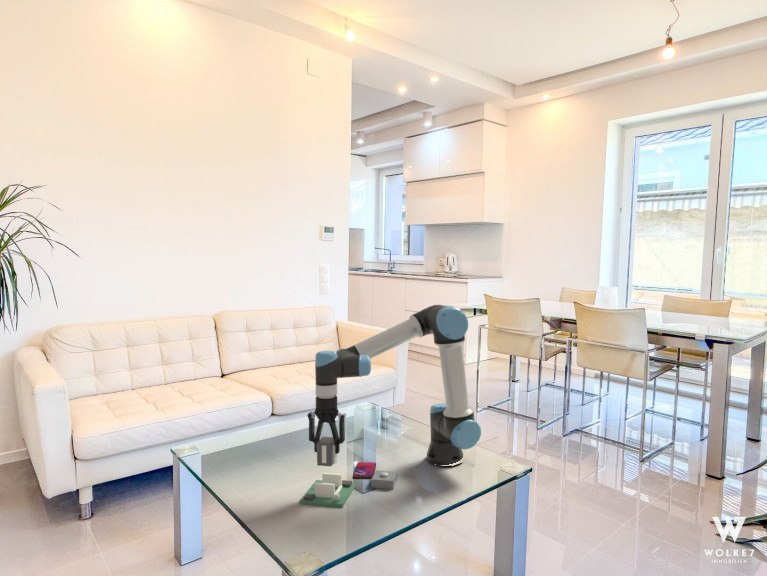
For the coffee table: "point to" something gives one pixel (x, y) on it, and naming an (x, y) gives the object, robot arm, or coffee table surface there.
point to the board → (328, 491)
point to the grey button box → (384, 479)
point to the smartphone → (364, 470)
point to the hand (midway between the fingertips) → (327, 461)
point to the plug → (325, 451)
